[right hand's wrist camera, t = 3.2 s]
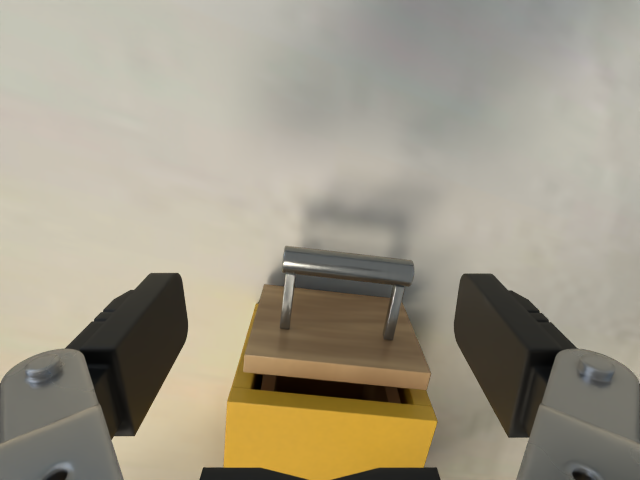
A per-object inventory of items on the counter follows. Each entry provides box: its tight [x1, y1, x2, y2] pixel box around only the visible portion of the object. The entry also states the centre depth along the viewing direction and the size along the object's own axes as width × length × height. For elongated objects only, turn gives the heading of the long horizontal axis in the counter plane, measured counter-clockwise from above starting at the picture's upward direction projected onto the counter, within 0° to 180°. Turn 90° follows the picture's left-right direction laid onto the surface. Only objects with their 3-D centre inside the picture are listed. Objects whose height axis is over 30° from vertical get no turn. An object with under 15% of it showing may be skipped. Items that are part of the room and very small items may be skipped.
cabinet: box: [224, 304, 438, 480], centre depth 29 cm, size 19×12×10 cm, turn 173°
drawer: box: [243, 246, 431, 404], centre depth 27 cm, size 23×10×8 cm, turn 173°
